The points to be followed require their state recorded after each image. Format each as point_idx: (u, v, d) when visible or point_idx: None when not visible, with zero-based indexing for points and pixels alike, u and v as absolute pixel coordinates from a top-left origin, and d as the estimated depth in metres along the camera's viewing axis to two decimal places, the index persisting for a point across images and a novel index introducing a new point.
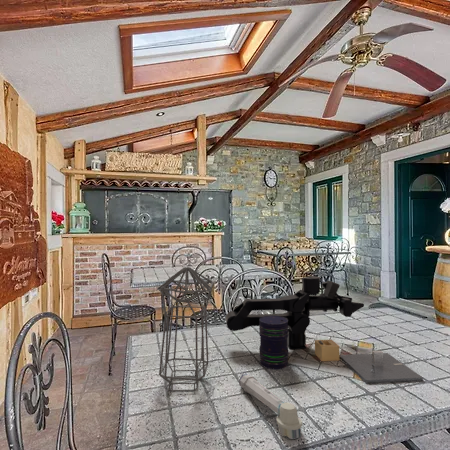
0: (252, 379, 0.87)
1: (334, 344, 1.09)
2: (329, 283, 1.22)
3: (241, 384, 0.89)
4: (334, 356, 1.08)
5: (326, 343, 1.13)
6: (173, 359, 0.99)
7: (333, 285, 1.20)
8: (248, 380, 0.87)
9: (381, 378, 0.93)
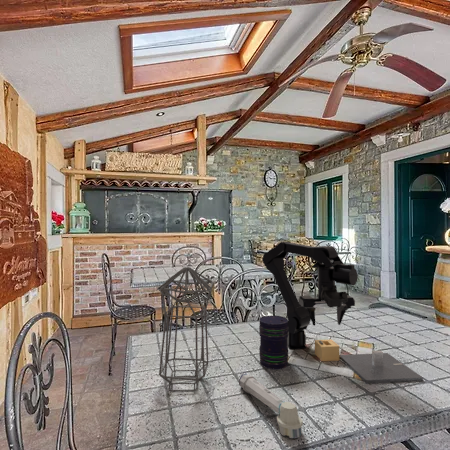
0: (252, 379, 0.87)
1: (334, 344, 1.09)
2: (335, 297, 1.03)
3: (241, 384, 0.89)
4: (334, 356, 1.08)
5: (326, 343, 1.13)
6: (173, 359, 0.99)
7: (328, 299, 1.03)
8: (248, 380, 0.87)
9: (381, 378, 0.93)
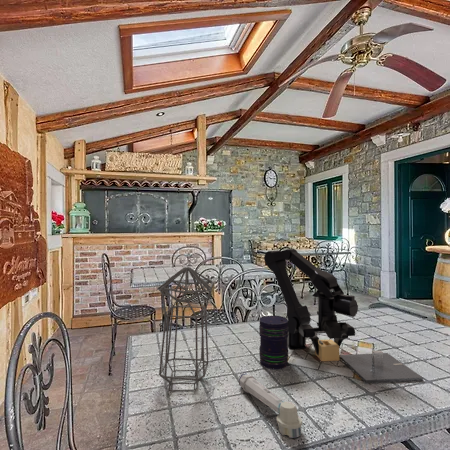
0: (252, 379, 0.87)
1: (334, 344, 1.09)
2: (335, 329, 1.03)
3: (241, 384, 0.89)
4: (334, 356, 1.08)
5: (326, 343, 1.13)
6: (173, 359, 0.99)
7: (328, 330, 1.03)
8: (248, 380, 0.87)
9: (381, 378, 0.93)
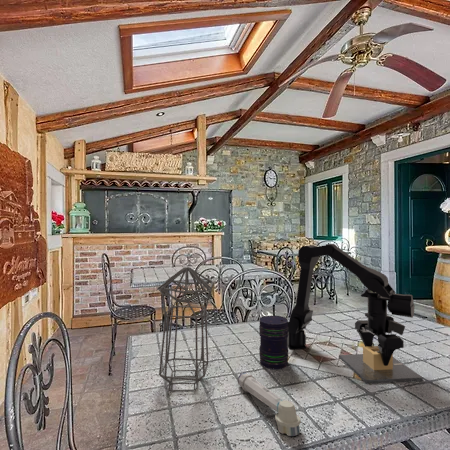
0: (251, 378, 0.88)
1: None
2: (399, 323, 1.02)
3: (240, 383, 0.90)
4: None
5: None
6: (173, 359, 0.99)
7: (402, 327, 1.00)
8: (247, 379, 0.88)
9: (381, 378, 0.93)
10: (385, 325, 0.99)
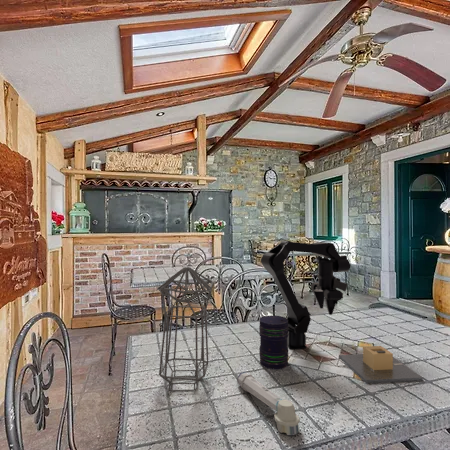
0: (250, 377, 0.88)
1: (378, 347, 1.04)
2: None
3: (239, 382, 0.90)
4: None
5: None
6: (173, 359, 0.99)
7: (345, 285, 1.24)
8: (246, 378, 0.88)
9: (381, 378, 0.93)
10: (331, 283, 1.24)
